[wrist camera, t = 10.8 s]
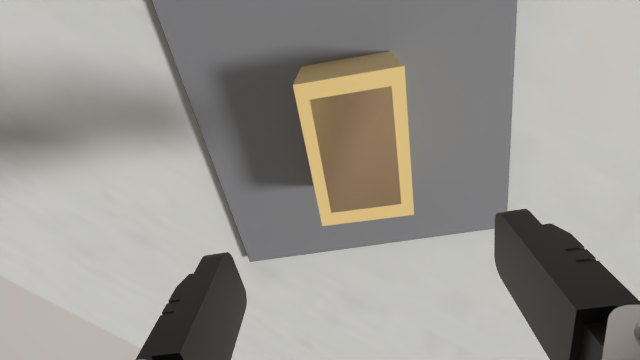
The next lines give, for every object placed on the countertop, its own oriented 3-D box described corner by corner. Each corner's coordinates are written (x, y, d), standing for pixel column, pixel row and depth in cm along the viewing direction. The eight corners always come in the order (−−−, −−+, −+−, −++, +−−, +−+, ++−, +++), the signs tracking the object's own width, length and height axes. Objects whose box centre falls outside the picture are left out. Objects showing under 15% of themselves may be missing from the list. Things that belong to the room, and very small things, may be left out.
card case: (389, 50, 19) (404, 65, 15) (399, 175, 22) (414, 214, 18) (301, 66, 19) (292, 85, 15) (324, 185, 23) (322, 226, 19)
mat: (502, 221, 24) (506, 226, 24) (251, 256, 26) (249, 261, 26) (516, -102, 16) (522, -105, 16) (152, -12, 18) (147, -13, 18)
